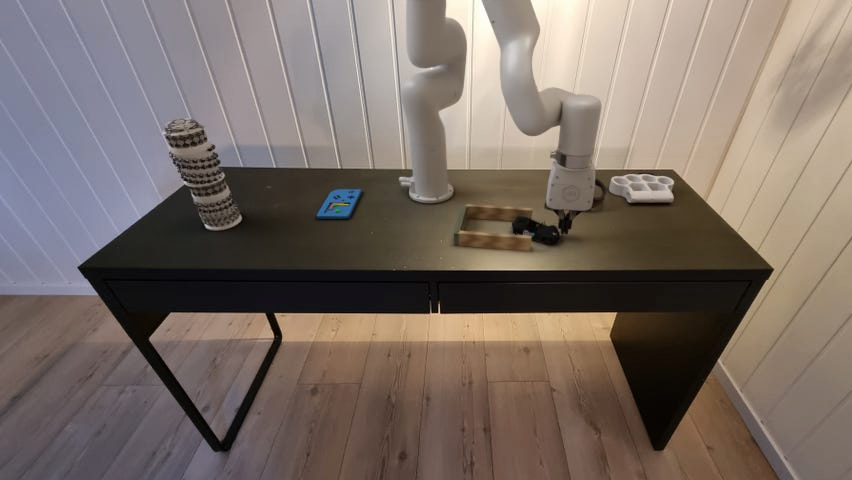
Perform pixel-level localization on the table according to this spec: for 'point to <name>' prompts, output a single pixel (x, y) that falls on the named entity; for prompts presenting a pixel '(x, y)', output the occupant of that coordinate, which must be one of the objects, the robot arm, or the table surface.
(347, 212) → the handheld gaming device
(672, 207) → the table surface
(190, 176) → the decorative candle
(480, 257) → the table surface
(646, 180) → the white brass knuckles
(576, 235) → the table surface
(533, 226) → the toy car
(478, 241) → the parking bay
